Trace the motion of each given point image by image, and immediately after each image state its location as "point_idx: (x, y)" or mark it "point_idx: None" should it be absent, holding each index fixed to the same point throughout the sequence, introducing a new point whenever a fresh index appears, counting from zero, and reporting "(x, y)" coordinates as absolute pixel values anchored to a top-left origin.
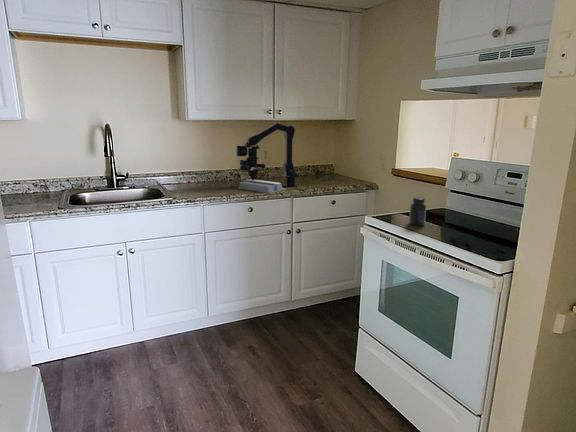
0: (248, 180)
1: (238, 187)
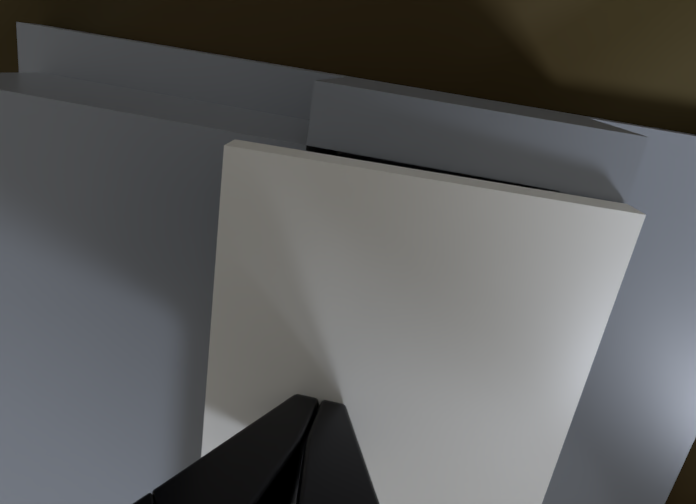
0: (223, 271)
1: (20, 39)
